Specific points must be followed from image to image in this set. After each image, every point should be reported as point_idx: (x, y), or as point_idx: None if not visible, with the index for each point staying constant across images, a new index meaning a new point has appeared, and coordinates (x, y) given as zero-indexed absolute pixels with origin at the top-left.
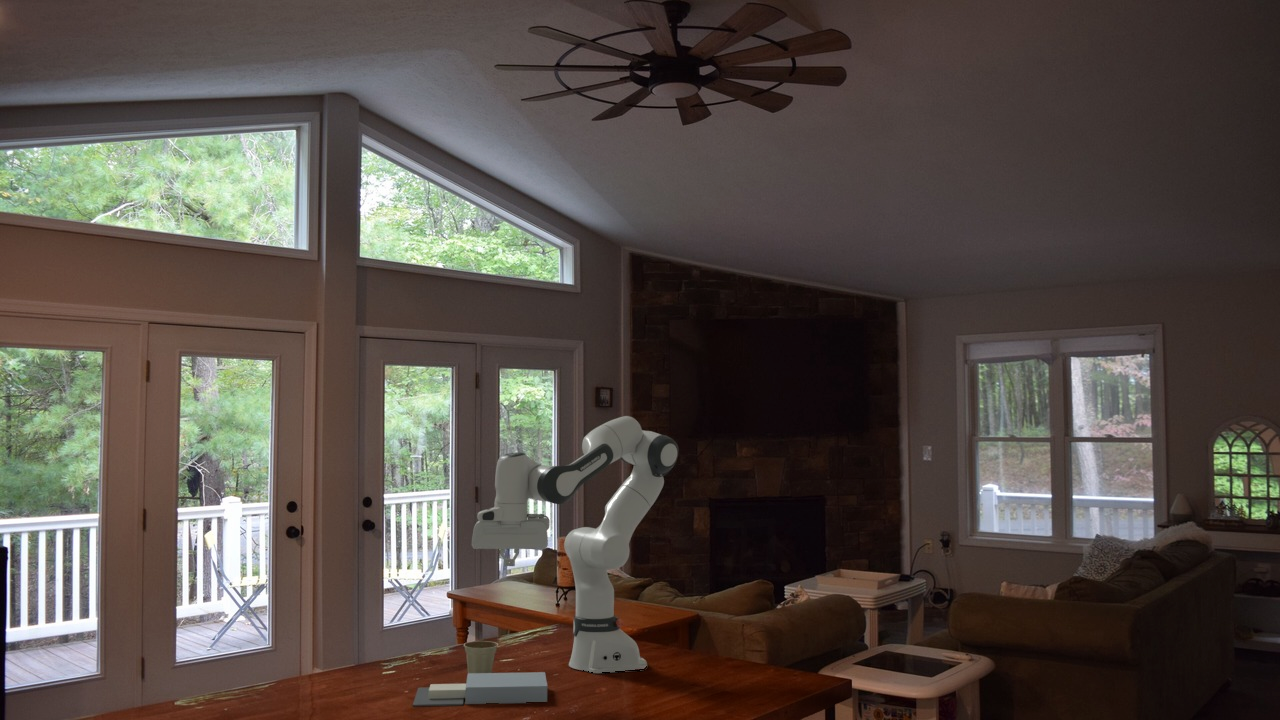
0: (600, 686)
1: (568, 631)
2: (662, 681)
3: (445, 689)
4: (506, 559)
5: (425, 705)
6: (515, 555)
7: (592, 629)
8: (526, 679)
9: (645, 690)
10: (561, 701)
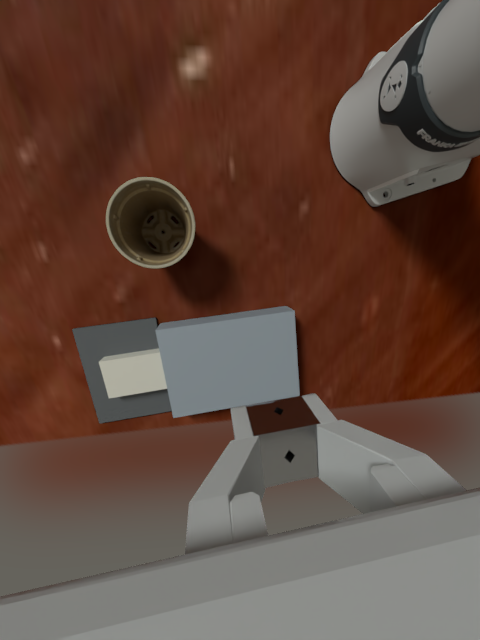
0: (371, 291)
1: None
2: (467, 255)
3: (135, 390)
4: (263, 475)
5: (119, 419)
6: (365, 510)
7: (435, 149)
8: (265, 361)
9: (431, 310)
10: (311, 376)
